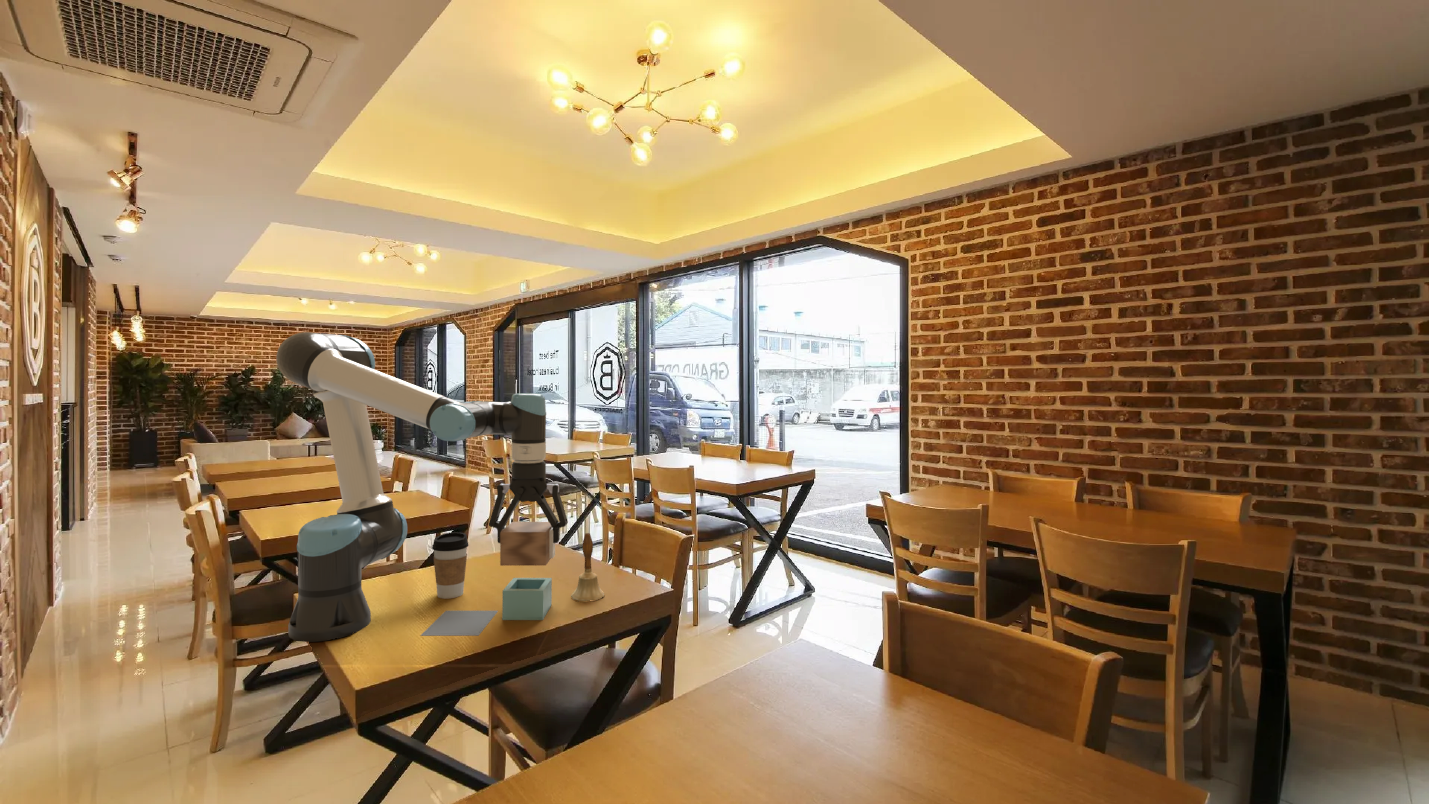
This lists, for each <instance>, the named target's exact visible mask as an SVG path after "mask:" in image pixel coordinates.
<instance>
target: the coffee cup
mask: <svg viewBox="0 0 1429 804" xmlns="http://www.w3.org/2000/svg"><path fill="white" fill-rule="evenodd" d="M467 537H468V535H467V534H466V533H465V532H460V531H457V532H454V531H453V532H447V533H443V534H439V535H437V536H436V537H435V538H434V539H433V543H432V546H431V549H432V550H433V555H434V556H433V565H434V575H435V584H436V595H437V597H438V598H440V599H443V600H444V599H446V600H447V599H454V598H458V597H461V596H462V595H463V594H464V587H465V578H466V569H467V560H468V554H467V549H468V547H469V546H470V545H469V541H468V538H467Z"/></svg>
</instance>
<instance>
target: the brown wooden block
mask: <svg viewBox="0 0 1429 804" xmlns="http://www.w3.org/2000/svg"><path fill="white" fill-rule="evenodd" d="M551 528H552V526H551V524H550V523H549V521H511V522H510V524H508V525H507V526H506V528H505V529H503V530H502V531H501V532H500V543H499V544H500V545H499V546H500V548H499V550H500V553H499V555H500V561H499V563H500V564H499V565H500V566H503V567H504V566H505V567H506V566H518V567H519V566H529V567H530V566H547V564H548V563H549V562H550V561H551V560H552V558H549V530H550V529H551Z"/></svg>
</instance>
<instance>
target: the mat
mask: <svg viewBox="0 0 1429 804" xmlns="http://www.w3.org/2000/svg"><path fill="white" fill-rule="evenodd" d="M498 612H499V610H445V611H443V613H442V614H441V615H440V616H439V617H438V618H437V619H436V620H434V622H432V624H430V626H428V628H427V629H426V630H424V631H423V632H422V633H421V634H420V635H419V636H423V637H426V636H427V637H429V636H430V637H432V636H433V637H435V636H436V637H437V636H438V637H439V636H440V637H442V636H444V637H447V636H448V637H450V636H452V637H454V636H455V637H457V636H459V637H460V636H465V637H471V636H472V637H474V636H478V637H479V636H480V635H481V633H482V632H483V631H484V630H485V629H486V627H487V626H488V625H489V623H490V622H491V621H492V619H494V617H495V616H496V615H497V613H498Z"/></svg>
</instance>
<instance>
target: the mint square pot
mask: <svg viewBox="0 0 1429 804" xmlns="http://www.w3.org/2000/svg"><path fill="white" fill-rule="evenodd" d="M552 584H553V578H552V577H513V578H512V579H511V580H510V581H509V582H508V584H507V585H506V586H505V587H504V588H503V590H502V608H501V609H502V610H501V611H502V613H501V614H502V617H501V618H502V621H543V620H544V619H545V617H546V615H547V614H548V612H549V611H550V609H551V608H552V603H553V601H552V599H553V597H552V596H553V595H552V592H553V591H552V590H553V589H552V587H553V585H552Z"/></svg>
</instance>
